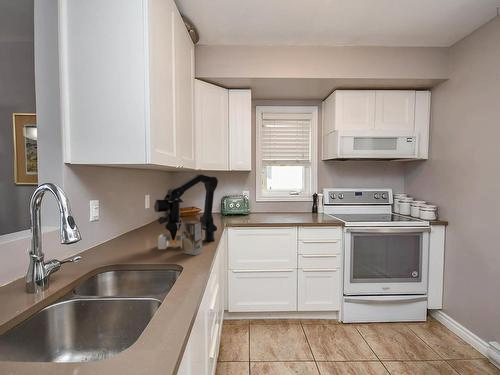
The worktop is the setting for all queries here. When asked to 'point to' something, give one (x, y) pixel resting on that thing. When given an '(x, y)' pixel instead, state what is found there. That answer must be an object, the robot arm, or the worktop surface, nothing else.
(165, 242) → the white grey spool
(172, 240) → the orange u-channel
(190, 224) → the coffee box
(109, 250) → the worktop surface
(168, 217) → the robot arm
